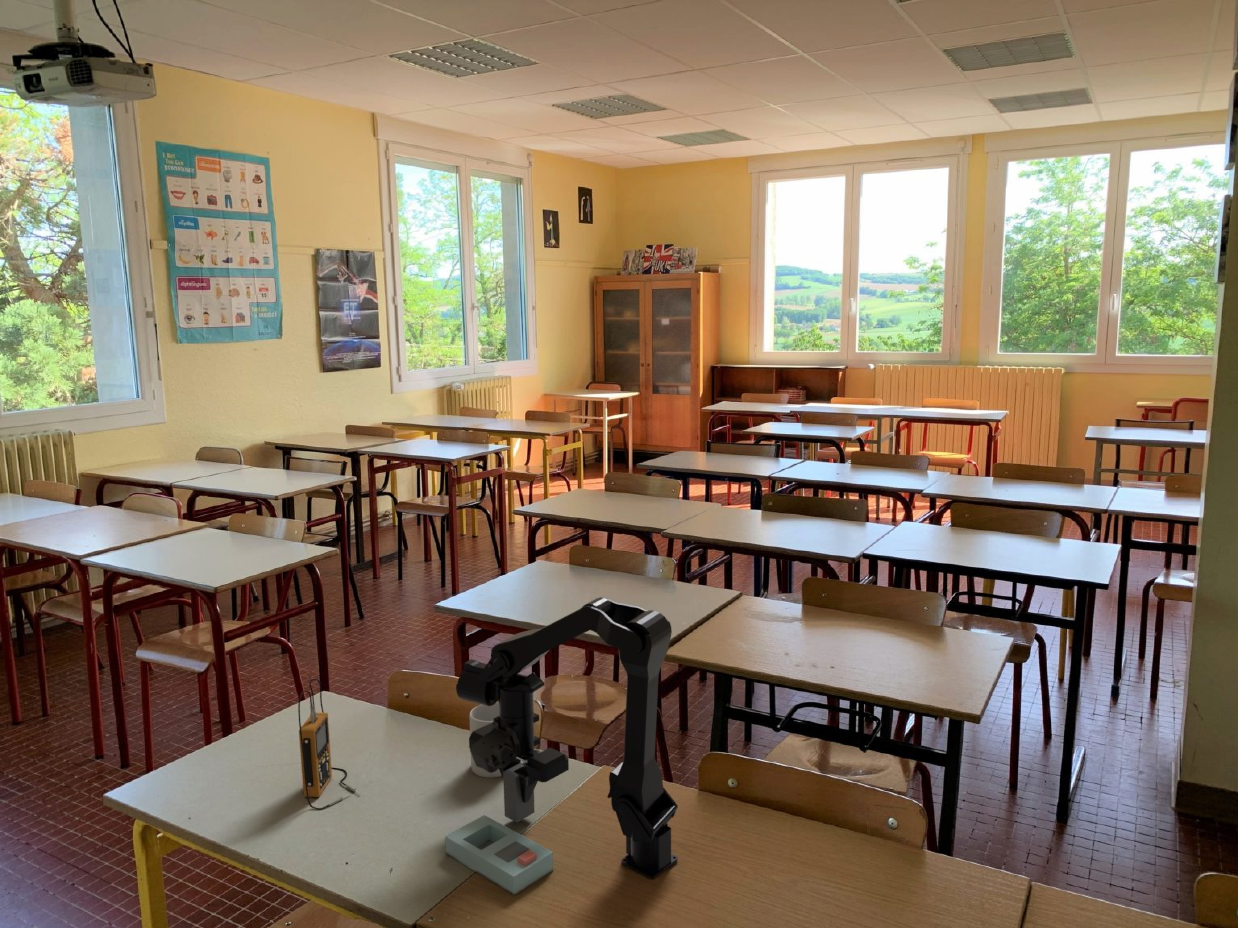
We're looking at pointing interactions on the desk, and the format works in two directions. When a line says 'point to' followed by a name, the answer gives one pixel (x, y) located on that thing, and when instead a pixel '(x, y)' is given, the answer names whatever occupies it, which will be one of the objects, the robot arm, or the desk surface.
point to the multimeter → (316, 752)
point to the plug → (515, 796)
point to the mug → (478, 719)
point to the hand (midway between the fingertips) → (519, 798)
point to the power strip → (499, 854)
